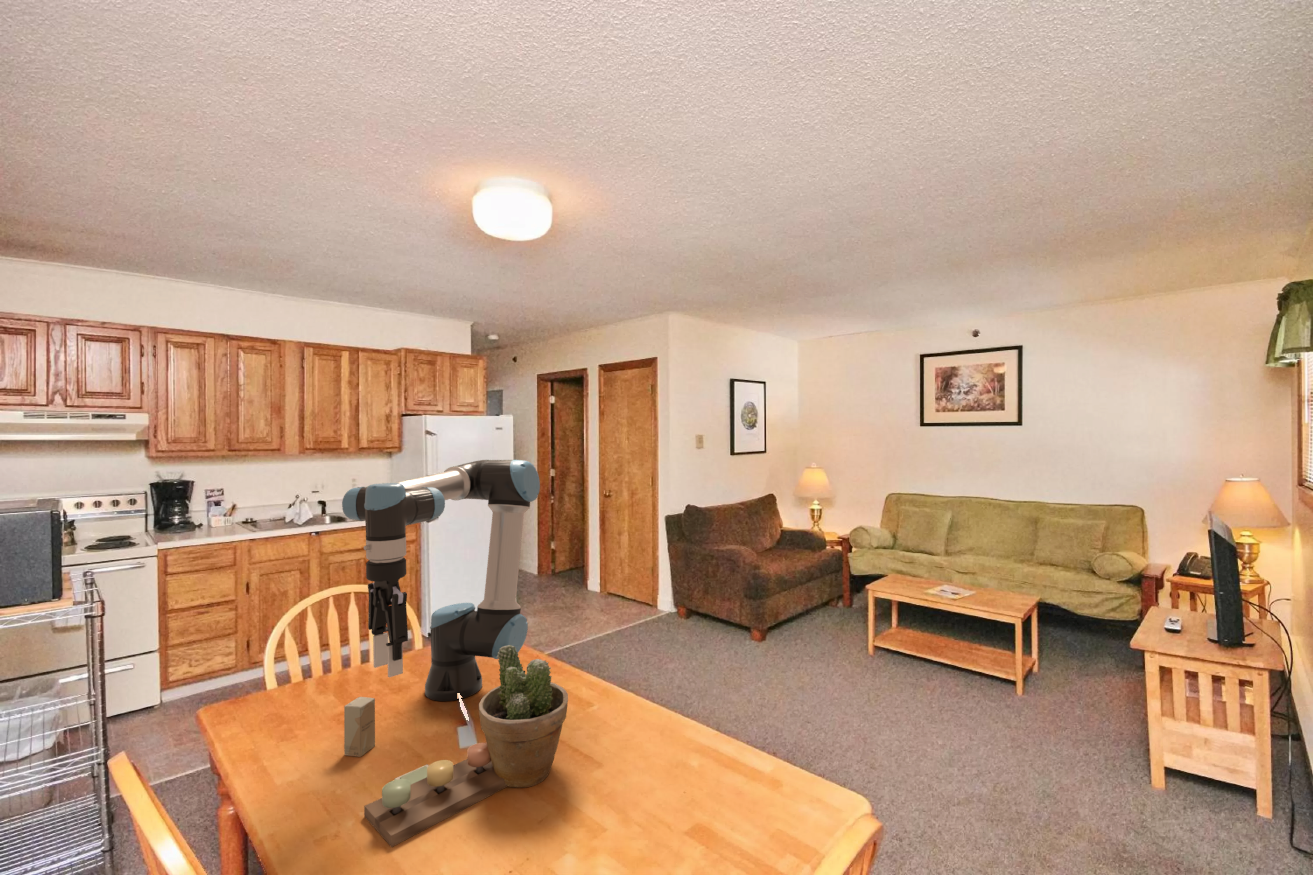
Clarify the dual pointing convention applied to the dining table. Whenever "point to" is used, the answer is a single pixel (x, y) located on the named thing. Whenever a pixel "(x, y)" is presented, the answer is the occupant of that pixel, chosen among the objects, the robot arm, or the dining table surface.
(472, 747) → the button terracotta
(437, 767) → the button ochre
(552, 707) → the potted plant
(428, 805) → the board
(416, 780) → the swatch
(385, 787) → the button green
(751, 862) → the dining table surface
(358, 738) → the box
